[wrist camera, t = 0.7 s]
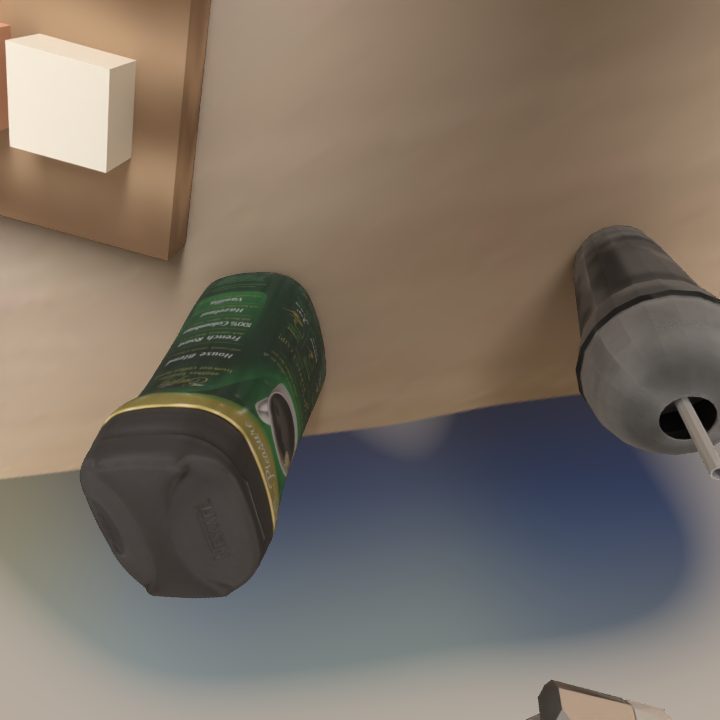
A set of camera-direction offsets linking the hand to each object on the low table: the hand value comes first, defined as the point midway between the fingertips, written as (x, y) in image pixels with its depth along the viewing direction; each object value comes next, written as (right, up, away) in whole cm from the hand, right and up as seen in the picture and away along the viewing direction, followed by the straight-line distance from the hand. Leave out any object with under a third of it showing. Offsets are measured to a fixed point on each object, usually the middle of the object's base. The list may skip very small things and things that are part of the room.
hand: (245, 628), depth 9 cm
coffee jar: (-5, +5, +36) cm, 37 cm away
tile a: (-13, +17, +26) cm, 34 cm away
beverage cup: (+16, +9, +30) cm, 36 cm away
